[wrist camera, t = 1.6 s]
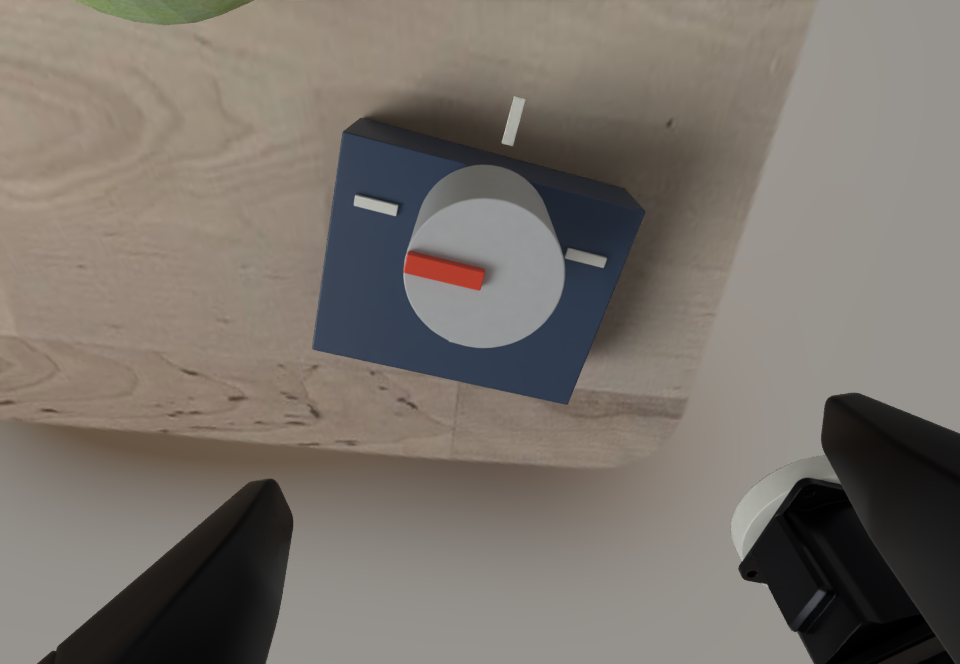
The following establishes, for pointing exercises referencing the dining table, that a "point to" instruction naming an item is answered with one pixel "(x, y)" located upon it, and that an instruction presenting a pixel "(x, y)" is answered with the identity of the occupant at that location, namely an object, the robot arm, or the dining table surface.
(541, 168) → the rotary dial base
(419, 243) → the grey rotary knob
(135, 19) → the beverage can
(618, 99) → the dining table surface
